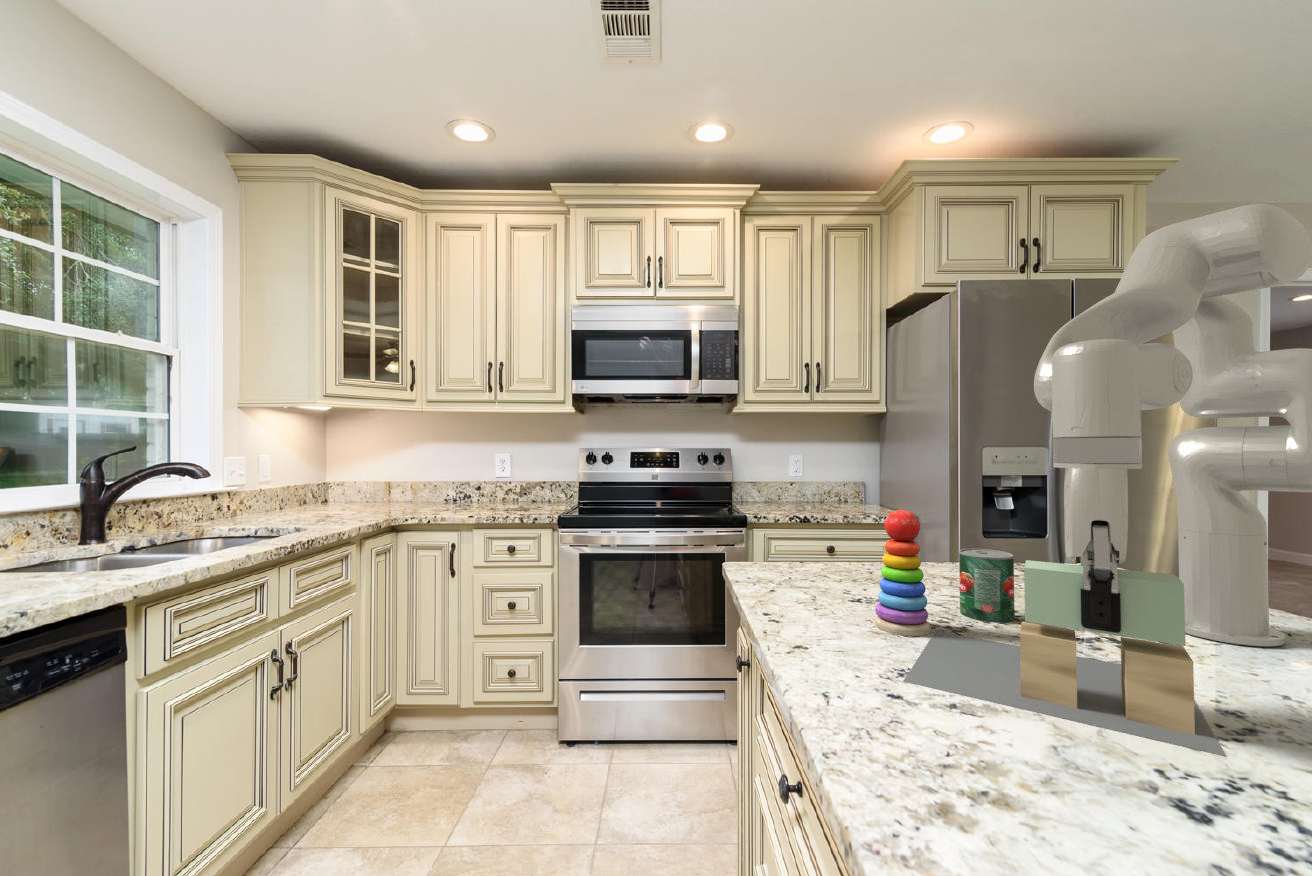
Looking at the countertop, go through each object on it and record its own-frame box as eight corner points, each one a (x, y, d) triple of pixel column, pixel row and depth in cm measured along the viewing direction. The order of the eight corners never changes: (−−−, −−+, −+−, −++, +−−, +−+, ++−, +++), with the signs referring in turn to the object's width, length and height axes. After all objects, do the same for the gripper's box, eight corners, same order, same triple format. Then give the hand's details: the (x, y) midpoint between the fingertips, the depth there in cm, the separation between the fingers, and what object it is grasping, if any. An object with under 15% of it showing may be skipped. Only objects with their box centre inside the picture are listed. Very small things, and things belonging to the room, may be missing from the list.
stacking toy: (937, 642, 80) (936, 513, 80) (879, 638, 81) (878, 512, 82) (922, 625, 88) (921, 508, 88) (870, 622, 89) (869, 507, 90)
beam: (1026, 610, 65) (1025, 560, 65) (1176, 632, 57) (1174, 574, 57) (1025, 621, 61) (1024, 567, 61) (1185, 645, 53) (1184, 584, 53)
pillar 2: (1121, 701, 60) (1120, 637, 60) (1184, 714, 57) (1183, 646, 57) (1126, 719, 56) (1125, 650, 56) (1194, 734, 53) (1193, 661, 53)
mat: (935, 635, 83) (935, 631, 83) (1180, 679, 67) (1179, 674, 67) (903, 686, 65) (903, 681, 65) (1226, 763, 49) (1226, 756, 49)
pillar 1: (1022, 680, 65) (1021, 621, 65) (1075, 691, 62) (1074, 629, 62) (1020, 696, 61) (1019, 633, 61) (1077, 708, 58) (1076, 642, 58)
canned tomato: (1026, 627, 87) (1025, 557, 87) (976, 626, 87) (975, 557, 87) (995, 612, 95) (995, 548, 95) (950, 611, 95) (949, 548, 95)
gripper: (1053, 454, 69) (1055, 599, 68) (1053, 455, 55) (1056, 637, 54) (1132, 454, 64) (1135, 609, 64) (1153, 456, 50) (1157, 654, 50)
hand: (1098, 620), depth 59 cm, fingers closed on beam, 5 cm apart
